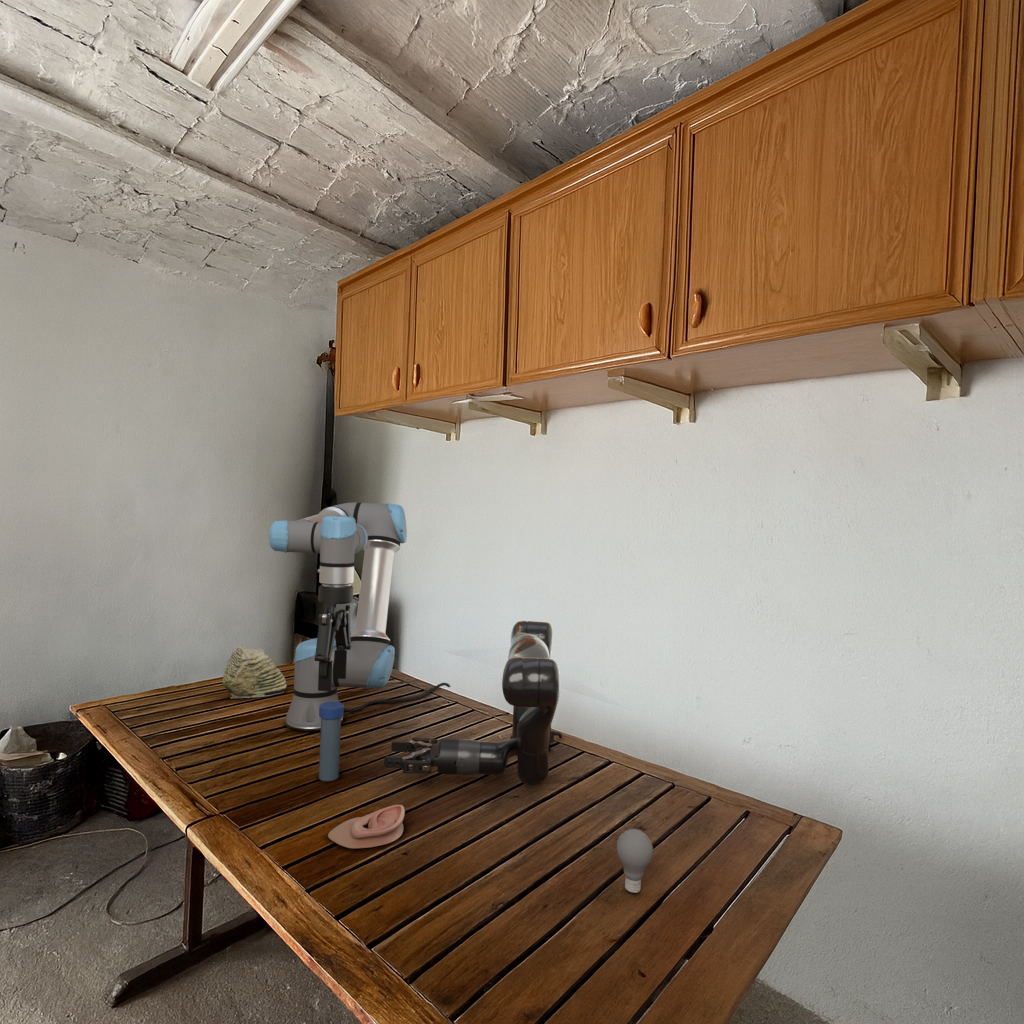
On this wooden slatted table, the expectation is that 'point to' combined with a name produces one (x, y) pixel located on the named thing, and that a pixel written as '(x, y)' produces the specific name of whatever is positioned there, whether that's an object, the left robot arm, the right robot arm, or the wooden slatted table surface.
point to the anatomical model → (370, 828)
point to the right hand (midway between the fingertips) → (388, 753)
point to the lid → (331, 710)
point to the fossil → (252, 674)
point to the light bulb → (634, 857)
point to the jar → (329, 749)
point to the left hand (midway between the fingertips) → (332, 684)
